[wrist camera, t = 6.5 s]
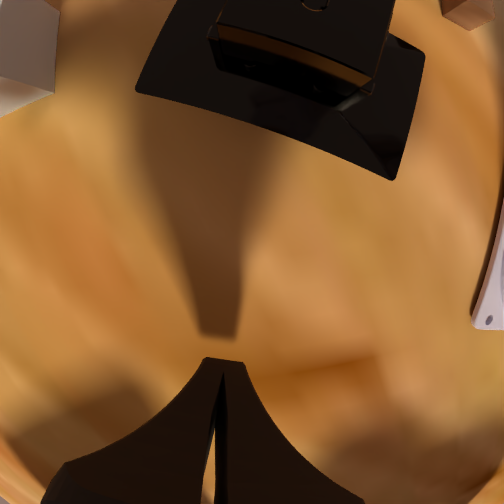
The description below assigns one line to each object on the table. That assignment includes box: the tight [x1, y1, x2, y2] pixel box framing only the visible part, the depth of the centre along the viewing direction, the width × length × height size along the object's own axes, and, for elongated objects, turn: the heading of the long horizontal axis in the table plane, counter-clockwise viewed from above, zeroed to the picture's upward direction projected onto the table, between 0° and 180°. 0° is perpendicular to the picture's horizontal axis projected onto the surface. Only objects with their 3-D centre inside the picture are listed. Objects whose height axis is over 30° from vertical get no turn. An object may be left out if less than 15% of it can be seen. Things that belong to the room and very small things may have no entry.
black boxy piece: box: [135, 0, 425, 181], centre depth 7 cm, size 12×7×5 cm, turn 71°
